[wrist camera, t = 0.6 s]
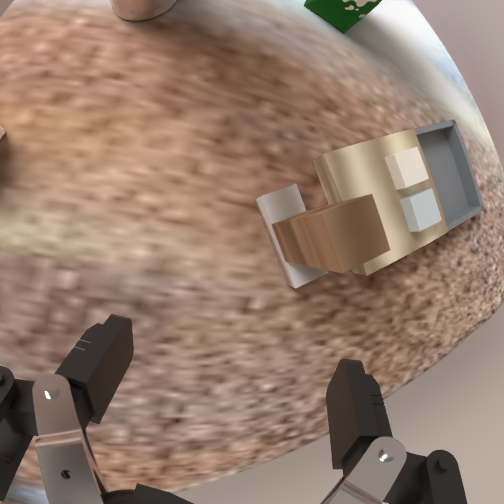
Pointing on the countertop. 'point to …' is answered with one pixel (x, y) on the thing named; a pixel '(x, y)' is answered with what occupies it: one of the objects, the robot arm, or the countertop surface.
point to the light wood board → (378, 191)
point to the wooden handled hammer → (321, 234)
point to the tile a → (406, 168)
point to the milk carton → (342, 11)
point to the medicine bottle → (1, 132)
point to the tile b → (420, 210)
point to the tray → (450, 171)
